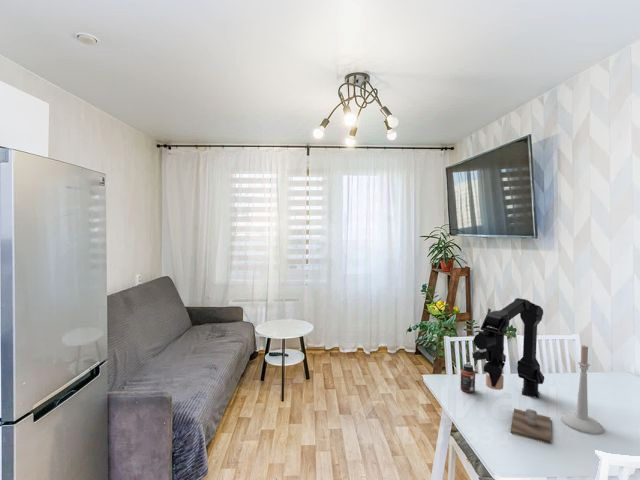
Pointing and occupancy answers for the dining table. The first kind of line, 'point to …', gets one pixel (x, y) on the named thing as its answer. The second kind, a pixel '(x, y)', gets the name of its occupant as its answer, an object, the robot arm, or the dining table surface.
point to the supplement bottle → (468, 378)
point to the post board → (531, 425)
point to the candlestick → (582, 403)
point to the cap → (498, 385)
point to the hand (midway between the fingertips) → (494, 383)
